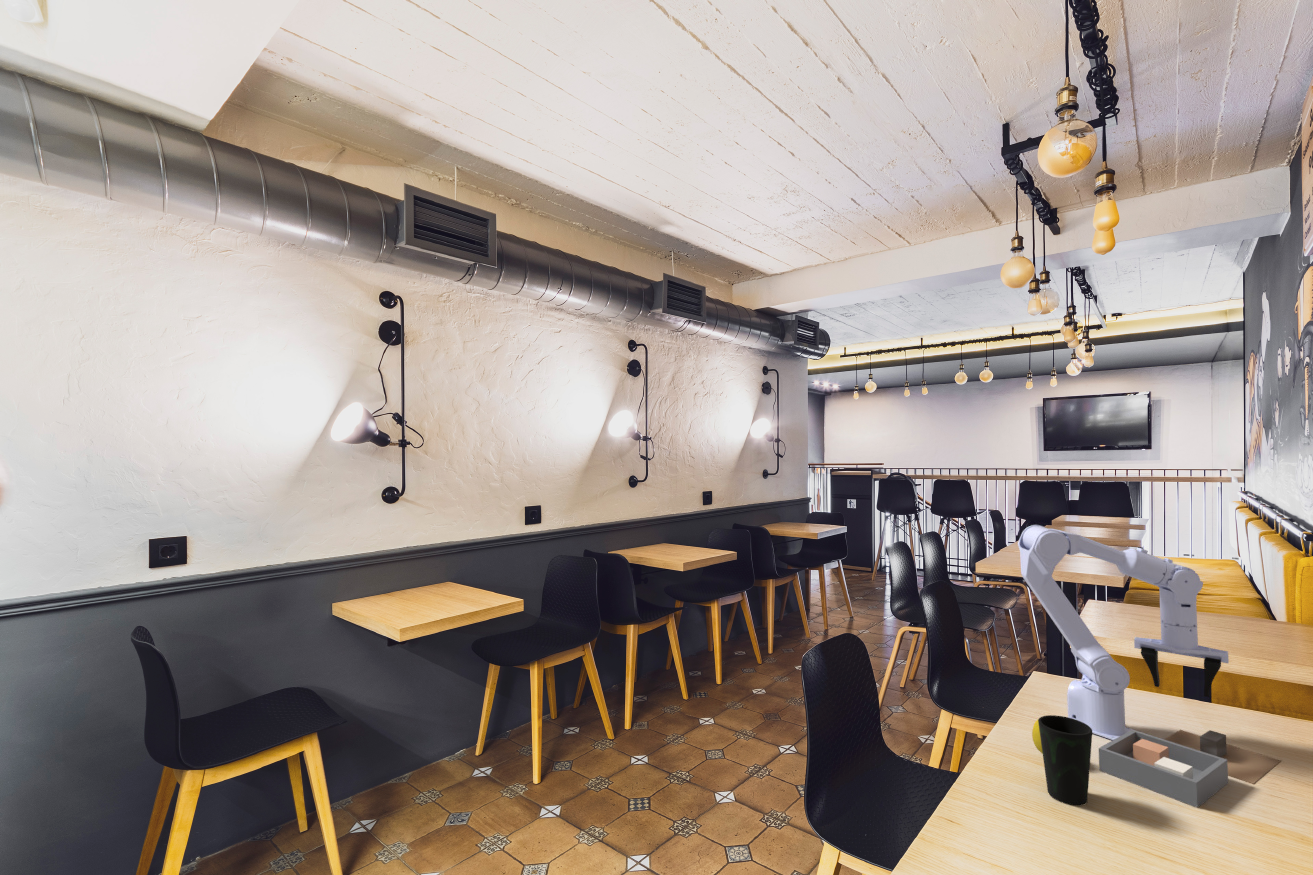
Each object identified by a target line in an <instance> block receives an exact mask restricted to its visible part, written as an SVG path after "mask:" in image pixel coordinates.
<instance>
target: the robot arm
mask: <svg viewBox="0 0 1313 875" xmlns="http://www.w3.org/2000/svg"><path fill="white" fill-rule="evenodd" d="M1017 547H1018V549H1019V554H1020V555H1019V556H1020V558H1019V559H1020V573H1021V576H1022V578H1023V580H1024V581H1025V582H1026V585H1027V586H1028V587H1029V589H1030V590H1031V591H1032V593H1033V594H1034V596H1035V597H1036V599H1037V600H1038V601H1039V602H1040V605H1041V606H1042V607H1043V609H1045V610H1044V611H1046V613H1047V614H1048V615H1049V617H1050V619H1051V620H1052V621H1053V623H1054V625H1055V626H1056V627H1057V629H1058V630H1059V632H1060V633H1061V634H1062V635H1063V637H1064V639H1065V641H1066V642H1067V643H1068V645H1069V646H1070V652H1071V653H1072V655H1073V656H1074V660H1075V665H1076V668H1077V670H1078V671H1079V673H1080V674H1082V677H1081V680H1078V679H1074V680H1072V681H1071V682H1070V683H1069V685H1068V688H1067V693H1066V696H1067V697H1066V698H1067V699H1066V700H1067V717H1068V718H1072V719H1075V720H1078V721H1081V722H1083V723H1085V724H1087V725H1088V726H1089V727H1090V728H1091V729H1092V735H1097V736H1100V737H1103V738H1106V739H1107V740H1108V739H1109V740H1111V741H1113V740H1114V739H1116V738H1118V737H1120V736H1122V735H1123V734H1125V733H1127V732H1129V731H1131V730H1134V729H1133V728H1130V727H1126V710H1125V708H1126V706H1125V690H1126V689H1127V688H1128V686H1129V685H1130V678H1131V677H1130V674H1129V671H1128V670H1127V669H1126V668H1125V666H1123V665H1122V664H1121V663H1118V662H1117V661H1116V660H1114V658H1113V657H1112V656H1111V654H1110V653H1109V652H1108V651H1107V650H1106V648H1104V647H1103V646H1102V645H1101V644H1100V643H1099V641H1098V640H1097V639H1096V638H1095V636H1094V634H1093V633H1092V632H1091V630H1090V629H1089V627H1088V626H1087V625H1086V623H1085V622H1084V620H1083V619H1082V618H1081V616H1080V615H1079V613H1078V612H1077V611H1076V609H1075V607H1074V605H1072V603H1071V602H1070V600H1069V599H1068V598H1067V597H1066V594H1065V593H1064V592H1063V591H1062V589H1061V588H1060V586H1059V585H1058V583H1057V581H1056V580H1055V579H1054V578H1053V574H1054V571H1055V569H1056V566H1057V565H1058V564H1059V563H1060V562H1061V561H1062V560H1063V559H1064V557H1066V555H1068V556H1073V555H1077V554H1083V555H1087V556H1090V557H1092V558H1095V559H1098V560H1101V561H1105V562H1108V563H1110V564H1113V565H1115V566H1116V567H1117V569H1118V571H1119V572H1120V573H1121V574H1122V575H1124V576H1128V577H1131V578H1133V579H1136V580H1139V581H1142V582H1144V583H1147V584H1150V585H1153V586H1156V587H1158V588H1159V591H1158V592H1159V613H1160V614H1159V615H1160V619H1159V620H1160V639H1157V638H1156V639H1155V638H1149V637H1147V638H1146V637H1145V638H1144V637H1138V636H1135V637H1134V639H1133V640H1134V641H1133V644H1134V649H1139V650H1140V654H1141V657H1142V658H1143V660H1144V662H1145V664H1146V665H1147V667H1148V669H1149V671H1150V674H1151V678H1152V680H1153V686H1154V687H1156V688H1159V687H1160V685H1161V684H1160V680H1161V679H1160V672H1159V652H1162V653H1168V654H1174V655H1179V656H1180V655H1181V656H1187V657H1191V658H1199V659H1204V660H1203V670H1204V672H1203V673H1204V674H1203V675H1204V689H1203V694H1204V695H1203V696H1204V697H1207V698H1209V697H1210V691H1211V686H1212V684H1213V681H1214V680H1215V677H1216V676H1217V674H1218V672H1219V671H1220V669H1221V667H1222V663H1223V664H1230V662H1229V661H1230V660H1229V651H1228V650H1223V649H1216V648H1212V647H1207V646H1204V645H1199V637H1198V614H1197V613H1198V612H1197V611H1198V610H1197V601H1198V600H1197V597H1198V594H1199V593H1200V592H1201V591H1202V588H1203V585H1204V581H1202V580H1201V579H1200V575H1199V574H1198V573H1196V571H1195V570H1194V569H1192V568H1190V567H1187V566H1183V565H1180V564H1177V563H1174V561H1173V559H1169V558H1167V557H1165V558H1164V559H1163V558H1160V557H1158V556H1154V555H1152V554H1149V553H1148V552H1149V551H1148V550H1147V549H1144V548H1140V547H1137V549H1135V548H1127V549H1124V550H1119V549H1117V548H1114V547H1112V546H1109V545H1106V544H1104V543H1101V542H1099V541H1095V540H1093V539H1091V538H1088V537H1086V536H1084V535H1081V534H1077V533H1074V532H1070V531H1069V532H1068V531H1065V530H1060V529H1056V528H1047V527H1045V526H1043V525H1039V524H1032V525H1030V526H1027V527H1026V528H1025V529H1023V530H1022V532H1021V534H1020V537H1019V539H1018V542H1017Z"/></svg>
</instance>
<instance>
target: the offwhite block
mask: <svg viewBox="0 0 1313 875" xmlns="http://www.w3.org/2000/svg"><path fill="white" fill-rule="evenodd" d="M1154 766H1156V767H1159V768H1161V769H1164V770H1167V771H1170V772H1173V773H1176V774H1178V775H1181V776H1184V777H1187V778H1190V779H1193V767H1192V766H1189V765H1186V764H1183V763H1181V762H1178V761H1175V760H1172V759H1169V758H1166V757H1163V758H1161V759H1160V760H1158V761H1157V762H1155V763H1154Z"/></svg>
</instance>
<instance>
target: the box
mask: <svg viewBox="0 0 1313 875" xmlns="http://www.w3.org/2000/svg"><path fill="white" fill-rule="evenodd" d="M1141 739H1145V740H1148V741H1151V742H1154V743H1157V744H1160V745H1163V746H1166V747H1168V748H1169V759H1172V760H1175V761H1178V762H1181V763H1183V764H1186V765H1189V766H1192V767H1193V779H1190V778H1187V777H1184V776H1181V775H1178V774H1176V773H1173V772H1170V771H1167V770H1164V769H1161V768H1159V767H1156V766H1153V765H1150V764H1147V763H1144V762H1141V761H1139V760H1136V759H1134V758H1133V744H1134V743H1136V742H1138V741H1139V740H1141ZM1164 739H1165V738H1160V737H1158V736H1154V735H1151V734H1148V733H1144V732H1141V731H1138V730H1136V729H1133V730H1131V731H1129V732H1127V733H1125V734H1123V735H1122V736H1120V737H1118V738H1116V739H1114V740H1111V741H1109V742H1107V743H1105V744H1104V745H1102V746H1100V747H1099V748H1098V767H1099V768H1098V769H1099V771H1100V772H1103V773H1105V774H1108V775H1111V776H1113V777H1116V778H1118V779H1122V780H1123V781H1126V782H1129V783H1131V784H1134V785H1137V786H1138V787H1139V786H1140V787H1142V788H1144V789H1147V790H1150V791H1153V792H1155V793H1158V794H1160V795H1163V796H1166V797H1168V798H1171V799H1174V800H1176V801H1179V802H1181V803H1184V804H1186V805H1189V806H1192V807H1194V808H1199V807H1200V806H1201V805H1203V804H1204V803H1205V802H1207V801H1208V800H1209V799H1210V798H1211V797H1212V796H1214V795H1215V794H1217V793H1218V792H1219V791H1220V790H1222V789H1223V788H1224V787H1225V786H1226V785H1228V784H1229V776H1228V764H1227V759H1224V758H1221V757H1217V756H1214V755H1211V754H1208V753H1205V752H1202V751H1199V750H1195V749H1192V748H1189V747H1186V746H1183V745H1180V744H1176V743H1173V742H1170V741H1167V740H1164Z"/></svg>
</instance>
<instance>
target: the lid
mask: <svg viewBox="0 0 1313 875" xmlns="http://www.w3.org/2000/svg"><path fill="white" fill-rule="evenodd" d="M1163 739H1164V740H1167V741H1170V742H1173V743H1176V744H1180V745H1183V746H1186V747H1189V748H1192V749H1195V750H1199V751H1202V752H1205V753H1208V754H1211V755H1214V756H1217V757H1221V758H1224V759H1227V764H1228V777H1230V778H1233V779H1236V780H1239V781H1242V782H1244V783H1248V784H1252V785H1255V784H1256V783H1257V782H1258V781H1259V780H1260V779H1262V778H1263V777H1264V776H1265V775H1267V774H1268V773H1269V772H1270V771H1271V770H1273V768H1275V767H1276V766H1277V765H1278V764H1280V763H1281V762H1282V760H1281V759H1279V758H1275V757H1272V756H1271V757H1270V756H1268V755H1265V754H1261V753H1257V752H1254V751H1252V750H1249V749H1245V748H1241V747H1237V746H1234V745H1232V744H1228V743H1227V734H1223V733H1221V732H1218V731H1215V730H1207V731H1206V732H1204V733H1203V734H1202V735H1199V734H1196V733H1192V732H1190V731H1185V730H1184V729H1179V730H1178V731H1176V732H1174V733H1173V734H1171V735H1169V736H1167V737H1166V738H1163Z"/></svg>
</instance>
